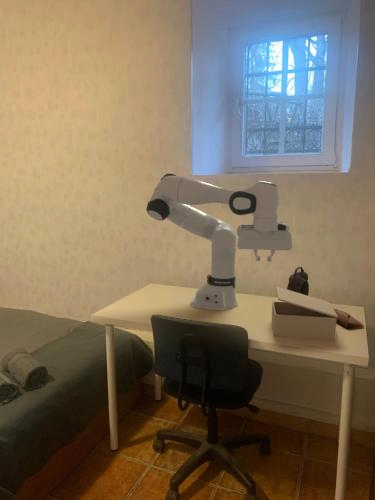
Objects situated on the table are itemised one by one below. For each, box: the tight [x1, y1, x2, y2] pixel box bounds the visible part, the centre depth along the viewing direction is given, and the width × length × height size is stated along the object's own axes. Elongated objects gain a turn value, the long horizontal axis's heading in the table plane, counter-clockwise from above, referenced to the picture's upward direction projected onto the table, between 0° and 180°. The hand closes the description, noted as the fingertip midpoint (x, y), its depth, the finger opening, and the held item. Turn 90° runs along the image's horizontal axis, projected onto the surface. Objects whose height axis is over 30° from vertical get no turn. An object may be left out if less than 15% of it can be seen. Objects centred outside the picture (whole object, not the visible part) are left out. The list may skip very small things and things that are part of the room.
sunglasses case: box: [332, 307, 365, 330], centre depth 161 cm, size 18×7×7 cm
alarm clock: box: [286, 266, 310, 296], centre depth 176 cm, size 14×7×20 cm, turn 144°
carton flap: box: [274, 286, 338, 318], centre depth 147 cm, size 22×16×1 cm
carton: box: [271, 300, 337, 342], centre depth 149 cm, size 22×16×10 cm
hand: (263, 261), depth 145 cm, fingers open, 3 cm apart
